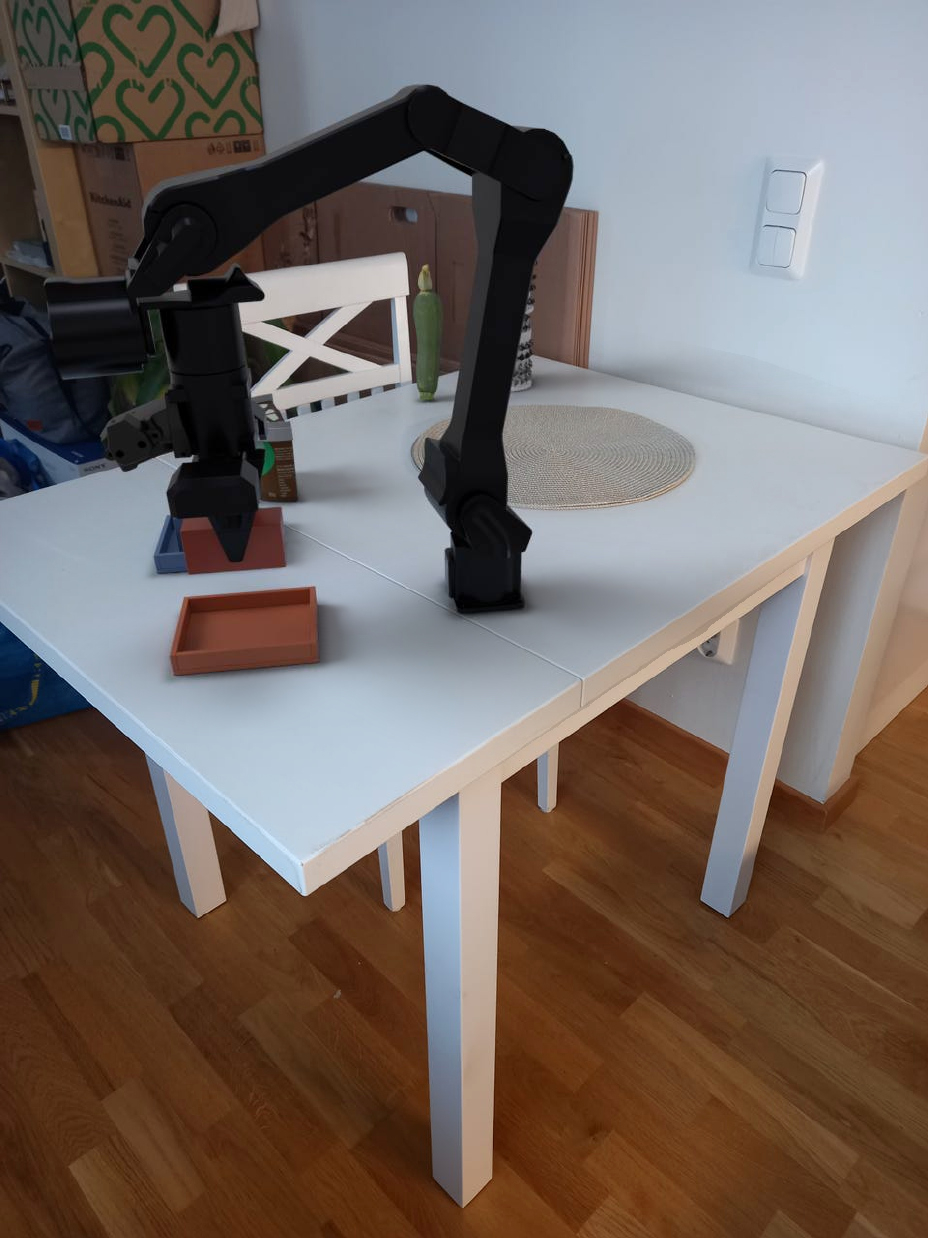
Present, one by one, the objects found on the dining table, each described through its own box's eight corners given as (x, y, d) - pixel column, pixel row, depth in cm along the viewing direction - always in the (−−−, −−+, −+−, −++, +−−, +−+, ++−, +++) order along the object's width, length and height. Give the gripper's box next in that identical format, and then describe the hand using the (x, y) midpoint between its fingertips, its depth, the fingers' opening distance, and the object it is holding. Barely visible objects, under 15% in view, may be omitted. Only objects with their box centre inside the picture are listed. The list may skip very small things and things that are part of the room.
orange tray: (317, 604, 84) (315, 585, 83) (318, 662, 76) (316, 642, 75) (187, 615, 83) (183, 596, 82) (173, 675, 75) (169, 655, 74)
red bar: (287, 548, 78) (281, 506, 76) (286, 567, 75) (280, 523, 73) (192, 555, 77) (184, 513, 75) (188, 575, 74) (179, 531, 72)
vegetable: (419, 394, 141) (414, 259, 130) (446, 395, 140) (443, 260, 130) (414, 403, 137) (408, 265, 126) (442, 404, 136) (438, 265, 126)
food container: (232, 476, 112) (220, 397, 107) (281, 469, 114) (271, 391, 109) (247, 513, 102) (235, 429, 97) (300, 505, 104) (291, 422, 99)
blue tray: (279, 523, 100) (277, 507, 99) (277, 564, 92) (275, 546, 91) (169, 531, 99) (166, 514, 98) (157, 573, 90) (153, 556, 89)
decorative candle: (517, 373, 150) (520, 211, 137) (544, 387, 143) (550, 217, 130) (468, 380, 147) (466, 215, 134) (493, 395, 140) (494, 222, 127)
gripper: (119, 340, 74) (155, 512, 82) (68, 410, 58) (119, 615, 66) (255, 333, 75) (278, 503, 84) (241, 400, 60) (271, 602, 68)
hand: (237, 550), depth 75 cm, fingers closed on red bar, 3 cm apart
